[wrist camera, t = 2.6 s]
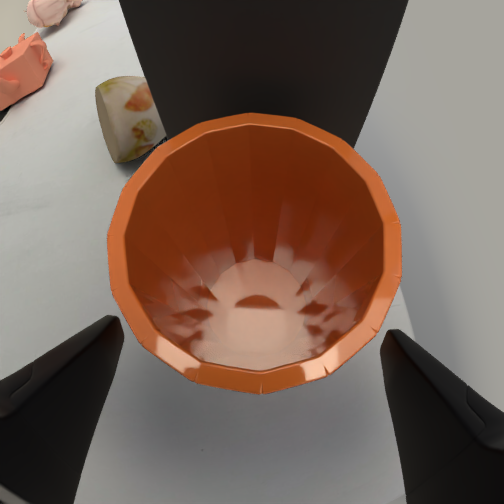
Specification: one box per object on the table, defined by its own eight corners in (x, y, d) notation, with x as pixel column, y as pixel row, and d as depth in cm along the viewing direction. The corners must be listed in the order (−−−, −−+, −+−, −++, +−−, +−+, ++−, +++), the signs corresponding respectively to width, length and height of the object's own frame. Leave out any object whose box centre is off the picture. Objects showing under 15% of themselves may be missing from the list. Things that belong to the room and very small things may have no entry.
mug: (237, 123, 24) (177, 79, 15) (155, 183, 27) (77, 175, 18) (202, 68, 24) (141, 19, 15) (130, 127, 28) (57, 105, 18)
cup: (323, 347, 18) (438, 333, 6) (215, 374, 18) (133, 415, 5) (294, 245, 20) (339, 100, 8) (192, 270, 20) (106, 149, 7)
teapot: (68, 47, 32) (51, 11, 24) (48, 100, 27) (20, 56, 19) (14, 77, 31) (-6, 47, 23) (-12, 136, 26) (-42, 103, 18)
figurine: (51, 28, 42) (23, 45, 32) (40, -7, 32) (8, 2, 23) (91, 9, 43) (71, 19, 33) (81, -28, 33) (58, -27, 23)
